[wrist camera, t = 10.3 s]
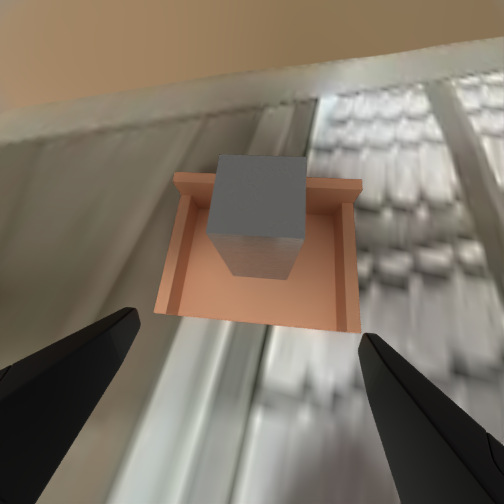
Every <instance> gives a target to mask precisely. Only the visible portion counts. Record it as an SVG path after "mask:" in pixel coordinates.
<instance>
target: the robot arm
mask: <svg viewBox="0 0 504 504" xmlns="http://www.w3.org/2000/svg"><path fill="white" fill-rule="evenodd" d="M140 325H141V323H140V319H139V315H138V311H137V309H136V308H132V307H125V308H123V309H121V310H119V311H117V312H115V313H113V314H111V315H109V316H107V317H105V318H103V319H101V320H99V321H97V322H95V323H93V324H91V325H89V326H87V327H85V328H83V329H81V330H79V331H77V332H75V333H73V334H71V335H69V336H67V337H65V338H63V339H61V340H59V341H57V342H55V343H53V344H51V345H49V346H47V347H45V348H43V349H41V350H39V351H37V352H35V353H33V354H32V355H30V356H28V357H26V358H24V359H22V360H20V361H18V362H16V363H14V364H13V365H10V366H8V367H6V368H4V369H2V370H0V504H35V503H36V502H37V500H38V498H39V497H40V495H41V494H42V492H43V490H44V489H45V487H46V486H47V484H48V482H49V481H50V479H51V478H52V476H53V474H54V473H55V471H56V469H57V468H58V466H59V465H60V463H61V461H62V460H63V458H64V457H65V455H66V453H67V452H68V450H69V449H70V447H71V445H72V444H73V442H74V440H75V439H76V437H77V436H78V434H79V432H80V431H81V429H82V428H83V426H84V424H85V423H86V421H87V420H88V418H89V416H90V415H91V413H92V411H93V410H94V408H95V407H96V405H97V403H98V402H99V400H100V399H101V397H102V395H103V394H104V392H105V391H106V389H107V387H108V386H109V384H110V382H111V381H112V379H113V378H114V376H115V374H116V373H117V371H118V370H119V368H120V366H121V364H122V363H123V361H124V359H125V357H126V355H127V353H128V351H129V349H130V347H131V345H132V343H133V341H134V339H135V337H136V335H137V333H138V331H139V329H140ZM358 355H359V360H360V364H361V369H362V374H363V379H364V383H365V388H366V393H367V397H368V400H369V404H370V407H371V410H372V413H373V416H374V419H375V422H376V426H377V429H378V432H379V435H380V438H381V441H382V444H383V447H384V451H385V454H386V457H387V460H388V463H389V466H390V469H391V472H392V476H393V479H394V482H395V485H396V488H397V491H398V494H399V497H400V501H401V504H504V446H503V445H502V444H501V443H500V442H499V441H498V440H496V439H495V438H494V437H493V436H492V435H491V434H490V433H486V430H485V429H484V428H483V427H482V426H480V425H479V424H478V423H477V422H476V421H475V420H474V419H473V418H471V417H470V416H469V415H468V414H467V413H466V412H465V411H463V410H462V409H461V408H460V407H459V406H458V405H457V404H455V403H454V402H453V401H452V400H451V399H450V398H449V397H448V396H446V395H445V394H444V393H443V392H442V391H441V390H440V389H438V388H437V387H436V386H435V385H434V384H433V383H432V382H431V381H429V380H428V379H427V378H426V377H425V376H424V375H423V374H421V373H420V372H419V371H418V370H417V369H416V368H415V367H413V366H412V365H411V364H410V363H409V362H408V361H407V360H406V359H404V358H403V357H402V356H401V355H400V354H399V353H398V352H396V351H395V350H394V349H393V348H392V347H391V346H390V345H389V344H387V343H386V342H385V341H384V340H383V339H382V338H381V337H379V336H378V335H377V334H374V333H364V334H363V336H362V339H361V342H360V345H359V348H358Z"/></svg>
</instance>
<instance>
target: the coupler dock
mask: <svg viewBox="0 0 504 504" xmlns="http://www.w3.org/2000/svg"><path fill="white" fill-rule="evenodd" d="M215 177H216V174H213V173H188V172H175V174H174V178H173V183H174V184H175V186H176V187H177V189H178V190H179V192H180V194H181V197H180V202H179V206H178V210H177V215H176V219H175V223H174V227H173V232H172V236H171V240H170V245H169V249H168V253H167V258H166V262H165V266H164V270H163V275H162V279H161V283H160V288H159V292H158V296H157V301H156V305H155V309H154V313H161V314H169V315H179V316H189V317H199V318H209V319H219V320H229V321H239V322H249V323H259V324H269V325H279V326H289V327H298V328H308V329H318V330H328V331H338V332H349V333H361V322H360V306H359V289H358V273H357V257H356V240H355V224H354V208H353V203H354V201H355V200H356V198H357V197H358V196H359V194H360V193H361V191H362V190H363V188H362V179H337V178H312V177H306V217H305V240H304V243H303V245H302V247H301V249H300V252H299V254H298V256H297V258H296V260H295V263H294V265H293V267H292V269H291V272H290V274H289V276H288V278H287V280H277V279H265V278H252V277H240V276H233V275H232V273H231V272H230V270H229V268H228V267H227V265H226V264H225V262H224V261H223V259H222V258H221V256H220V254H219V253H218V251H217V250H216V248H215V247H214V245H213V243H212V242H211V240H210V239H209V237H208V236H207V234H206V228H207V222H208V216H209V211H210V205H211V200H212V194H213V188H214V183H215Z"/></svg>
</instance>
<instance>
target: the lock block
mask: <svg viewBox="0 0 504 504" xmlns="http://www.w3.org/2000/svg"><path fill="white" fill-rule="evenodd" d="M305 217H306V157H289V156H256V155H223V154H219V160H218V166H217V171H216V177H215V183H214V188H213V194H212V200H211V205H210V211H209V216H208V222H207V228H206V234H207V236H208V237H209V239H210V240H211V242H212V243H213V245H214V247H215V248H216V250H217V251H218V253H219V254H220V256H221V258H222V259H223V261H224V262H225V264H226V265H227V267H228V268H229V270H230V272H231V273H232V275H233V276H240V277H252V278H265V279H277V280H287V278H288V276H289V274H290V272H291V269H292V267H293V265H294V263H295V260H296V258H297V256H298V254H299V252H300V249H301V247H302V245H303V243H304V240H305Z"/></svg>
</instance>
